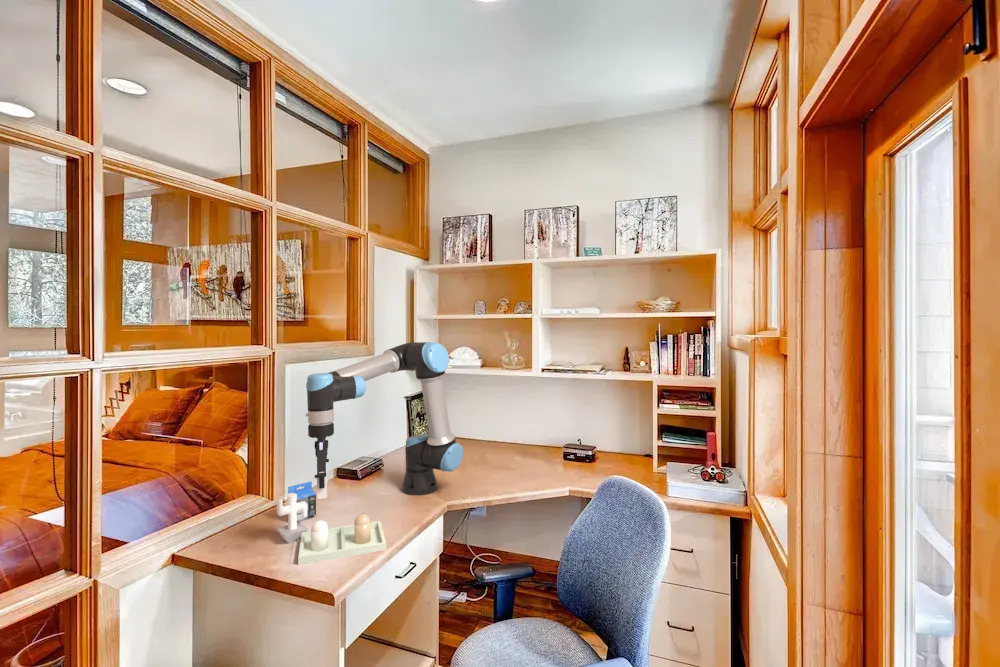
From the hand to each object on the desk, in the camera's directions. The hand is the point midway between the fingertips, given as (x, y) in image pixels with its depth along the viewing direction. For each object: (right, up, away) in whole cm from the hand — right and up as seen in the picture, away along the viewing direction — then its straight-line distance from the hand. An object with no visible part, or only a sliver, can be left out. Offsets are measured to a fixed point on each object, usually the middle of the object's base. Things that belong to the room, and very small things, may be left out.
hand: (322, 490), depth 144 cm
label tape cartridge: (-17, -19, +25) cm, 35 cm away
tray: (+6, -19, +2) cm, 20 cm away
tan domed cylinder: (+11, -18, +4) cm, 21 cm away
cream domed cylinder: (-1, -18, 0) cm, 18 cm away
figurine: (-13, -19, +8) cm, 24 cm away
